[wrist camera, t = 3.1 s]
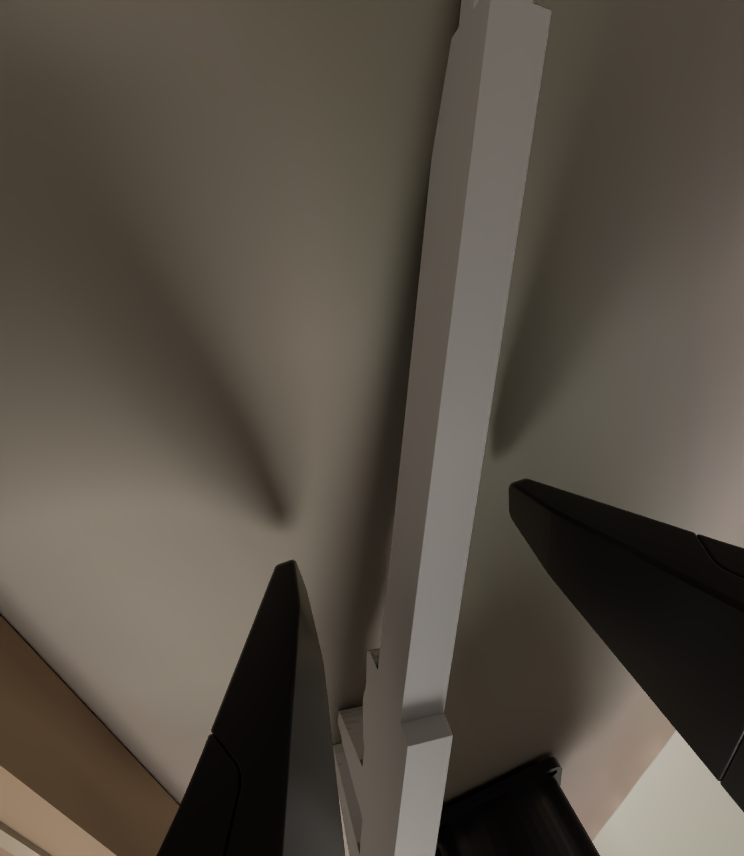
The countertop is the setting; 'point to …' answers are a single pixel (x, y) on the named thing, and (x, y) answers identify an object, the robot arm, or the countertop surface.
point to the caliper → (444, 427)
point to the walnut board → (67, 771)
